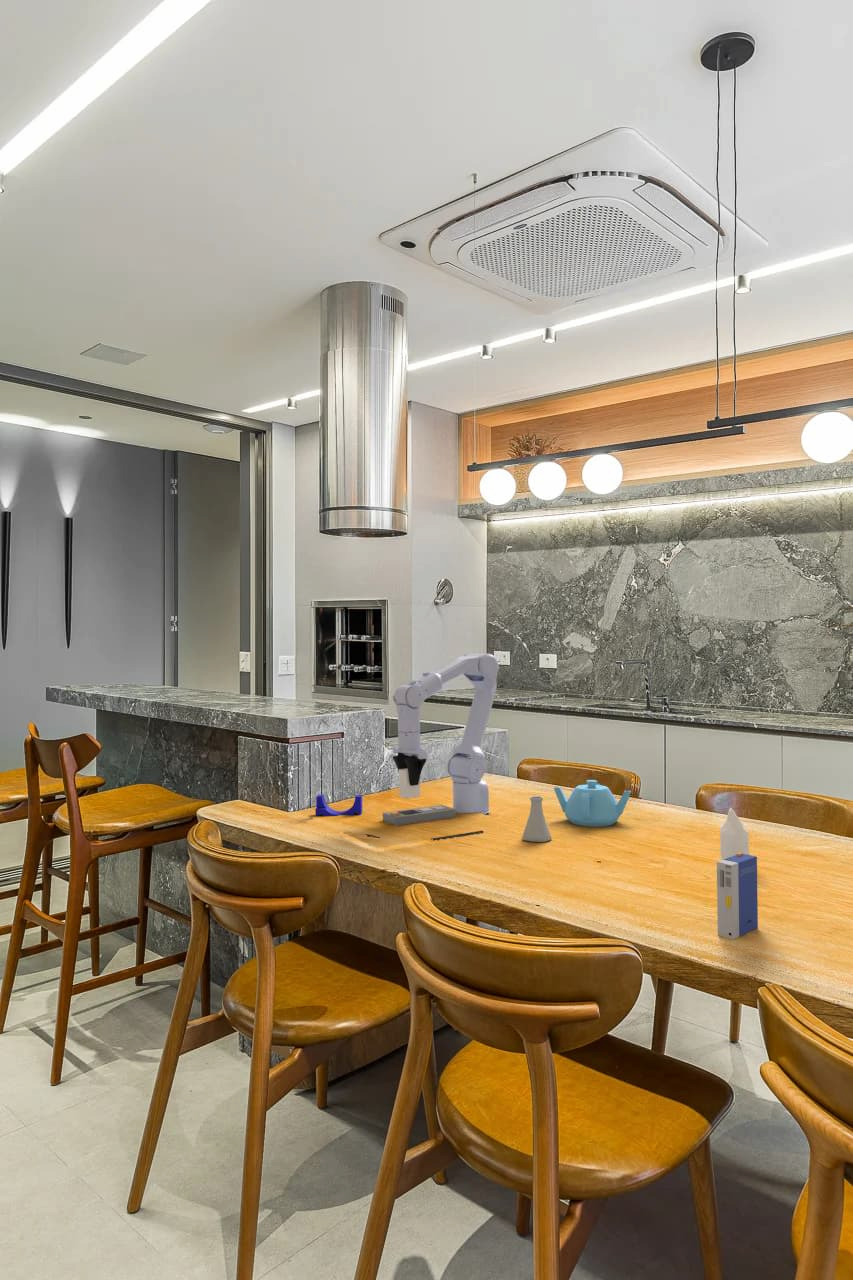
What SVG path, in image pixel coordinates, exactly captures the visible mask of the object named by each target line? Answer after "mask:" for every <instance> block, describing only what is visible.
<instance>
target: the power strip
mask: <svg viewBox="0 0 853 1280" xmlns="http://www.w3.org/2000/svg"><path fill="white" fill-rule="evenodd" d="M452 818H457V812H456V809H453V807H449V806H446V805H443V804H438V805H431V806H424V807H422V806H421V807H415V808H408V809H400V810H393V811H385V812H382V821H383V822H385V823H388V824H390V825H393V826H401V825H409V824H410V825H411V824H417V823H425V822H432V821H437V820H444V819H445V820H446V819H452Z"/></svg>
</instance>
